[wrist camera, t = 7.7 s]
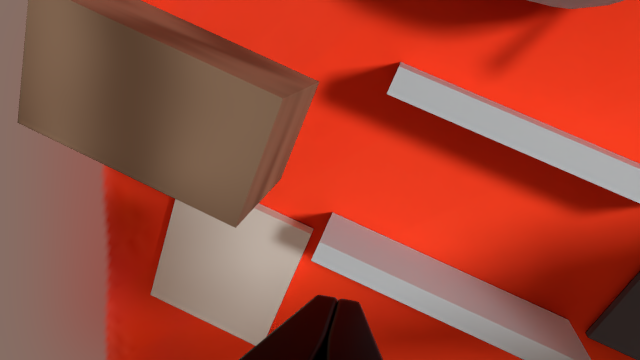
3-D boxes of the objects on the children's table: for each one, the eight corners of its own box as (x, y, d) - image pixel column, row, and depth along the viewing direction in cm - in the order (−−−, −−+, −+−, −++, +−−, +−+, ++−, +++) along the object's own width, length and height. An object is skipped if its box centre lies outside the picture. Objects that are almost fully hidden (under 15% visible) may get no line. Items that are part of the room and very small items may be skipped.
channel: (684, 182, 15) (745, 214, 12) (555, 334, 18) (581, 386, 16) (400, 61, 16) (399, 66, 13) (324, 228, 19) (310, 260, 16)
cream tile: (313, 228, 19) (311, 234, 19) (264, 340, 22) (261, 348, 22) (188, 170, 20) (181, 174, 19) (156, 288, 23) (150, 294, 22)
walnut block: (320, 81, 17) (283, 98, 12) (281, 178, 19) (235, 227, 14) (139, -2, 18) (29, -19, 12) (119, 101, 19) (17, 122, 14)
